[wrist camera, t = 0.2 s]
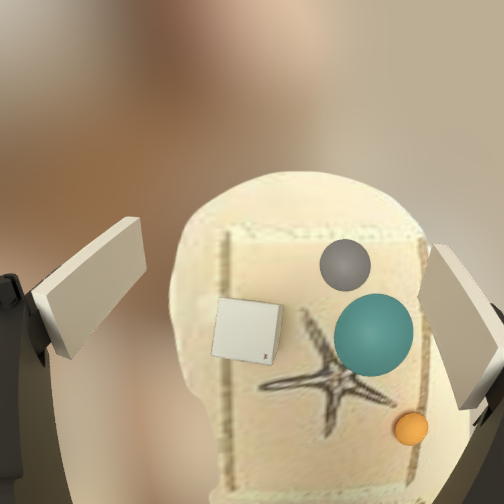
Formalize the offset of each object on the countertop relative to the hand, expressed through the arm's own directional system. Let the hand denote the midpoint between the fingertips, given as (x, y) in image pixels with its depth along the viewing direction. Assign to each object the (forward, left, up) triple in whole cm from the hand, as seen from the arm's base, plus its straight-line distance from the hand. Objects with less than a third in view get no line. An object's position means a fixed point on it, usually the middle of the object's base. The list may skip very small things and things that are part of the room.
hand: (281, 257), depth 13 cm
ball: (-29, -9, -33) cm, 45 cm away
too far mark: (0, -9, -36) cm, 37 cm away
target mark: (-12, -9, -36) cm, 39 cm away
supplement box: (-3, +7, -36) cm, 37 cm away
